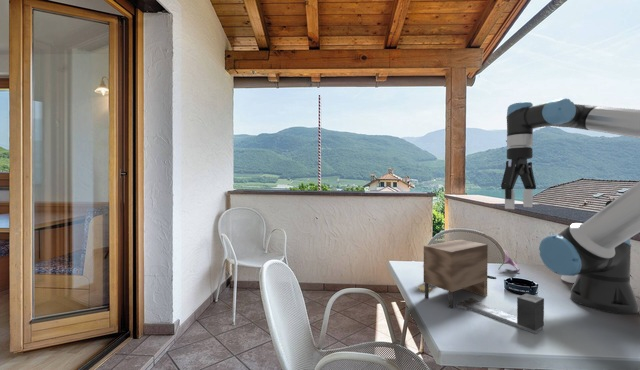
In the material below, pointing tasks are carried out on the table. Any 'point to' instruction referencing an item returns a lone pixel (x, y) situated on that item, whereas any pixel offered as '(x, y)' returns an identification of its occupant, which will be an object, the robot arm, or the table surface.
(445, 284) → the cabinet
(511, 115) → the robot arm
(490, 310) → the flat bar with block
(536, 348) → the table surface
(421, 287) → the brass disc
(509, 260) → the lily
